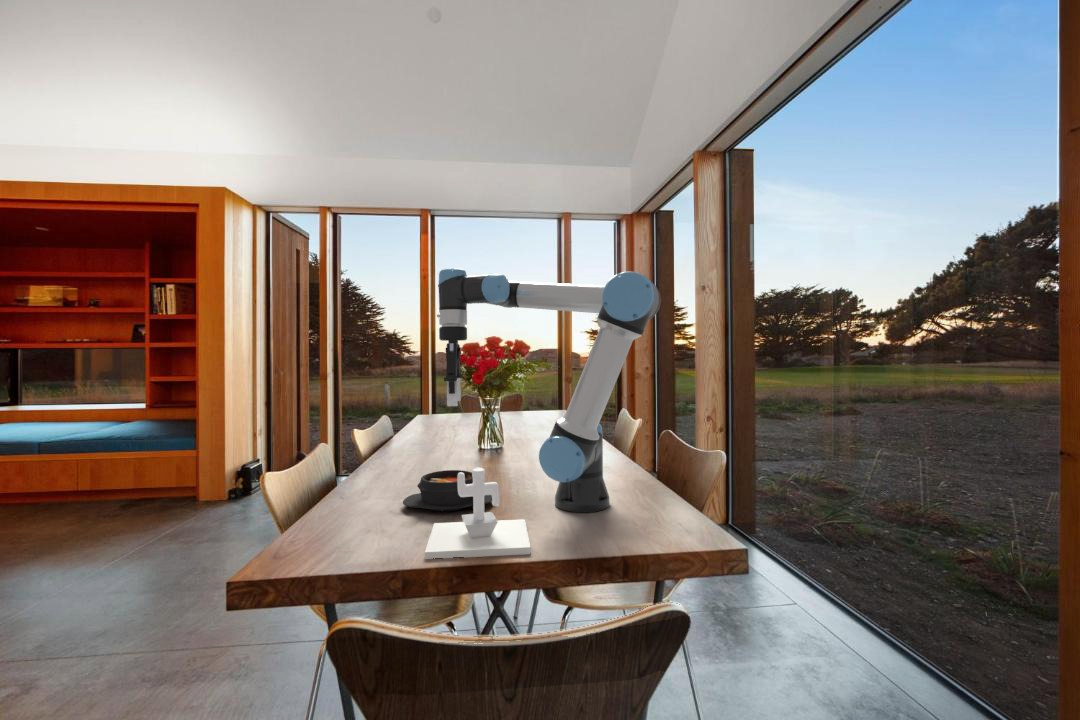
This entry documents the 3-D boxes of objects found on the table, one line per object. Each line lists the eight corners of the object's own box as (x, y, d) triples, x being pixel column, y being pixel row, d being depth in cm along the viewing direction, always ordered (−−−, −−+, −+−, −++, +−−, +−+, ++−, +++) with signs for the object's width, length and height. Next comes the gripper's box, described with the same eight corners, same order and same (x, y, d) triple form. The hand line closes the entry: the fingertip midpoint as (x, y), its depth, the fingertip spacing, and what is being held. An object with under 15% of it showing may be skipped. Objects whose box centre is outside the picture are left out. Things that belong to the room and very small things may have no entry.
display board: (524, 525, 127) (524, 519, 127) (530, 554, 109) (530, 547, 109) (434, 529, 125) (434, 523, 125) (424, 559, 107) (424, 552, 107)
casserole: (493, 494, 154) (493, 467, 154) (493, 514, 136) (493, 483, 135) (408, 497, 152) (408, 469, 152) (397, 518, 133) (396, 486, 133)
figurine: (502, 537, 115) (502, 470, 114) (460, 542, 112) (459, 473, 112) (496, 526, 122) (495, 463, 121) (456, 531, 119) (455, 466, 119)
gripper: (443, 328, 153) (444, 399, 153) (434, 323, 128) (435, 408, 129) (468, 328, 154) (469, 398, 154) (464, 323, 129) (465, 408, 129)
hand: (454, 403), depth 141 cm, fingers open, 13 cm apart
